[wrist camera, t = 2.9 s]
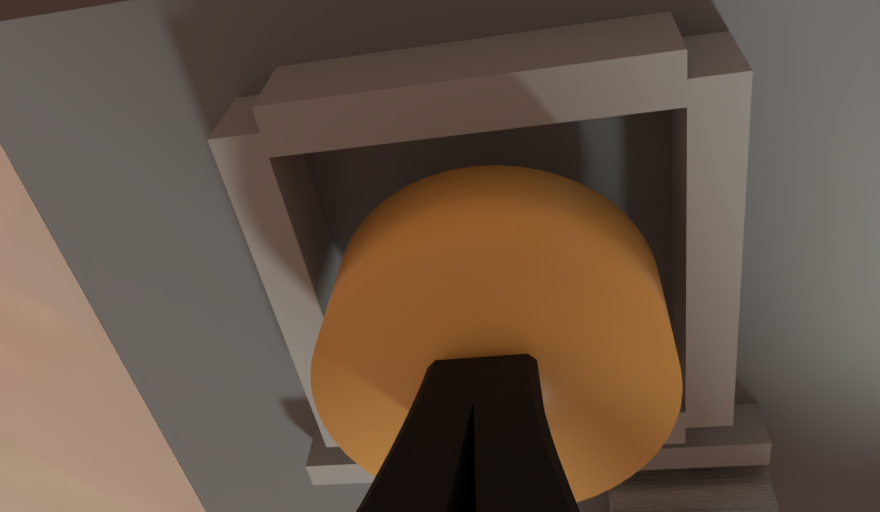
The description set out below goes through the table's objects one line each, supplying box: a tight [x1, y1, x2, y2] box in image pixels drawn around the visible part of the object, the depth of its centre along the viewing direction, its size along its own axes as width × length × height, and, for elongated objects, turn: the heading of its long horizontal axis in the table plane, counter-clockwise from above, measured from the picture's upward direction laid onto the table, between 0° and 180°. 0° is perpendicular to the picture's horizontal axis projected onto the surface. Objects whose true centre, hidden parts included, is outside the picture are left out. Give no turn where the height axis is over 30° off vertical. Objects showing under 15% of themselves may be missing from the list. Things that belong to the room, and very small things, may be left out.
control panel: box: [0, 0, 880, 512], centre depth 18 cm, size 16×24×3 cm, turn 10°
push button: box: [310, 165, 683, 503], centre depth 11 cm, size 5×5×2 cm
